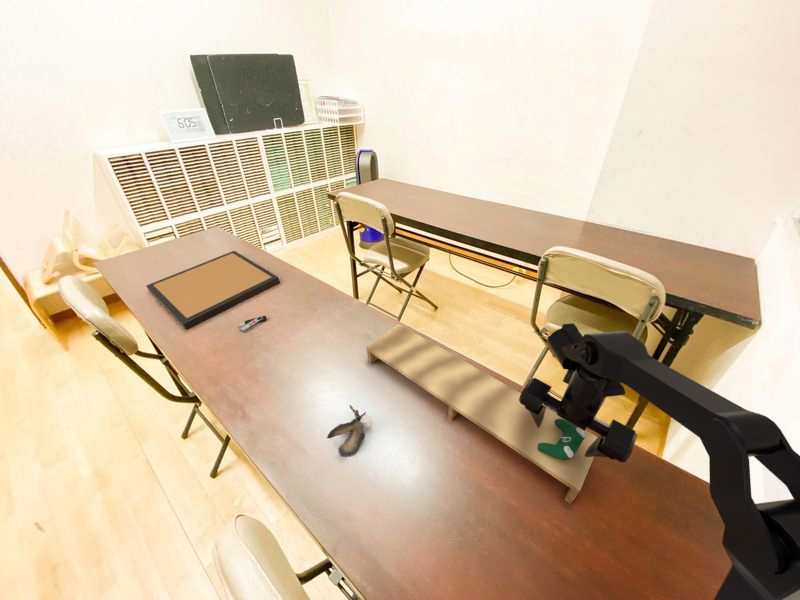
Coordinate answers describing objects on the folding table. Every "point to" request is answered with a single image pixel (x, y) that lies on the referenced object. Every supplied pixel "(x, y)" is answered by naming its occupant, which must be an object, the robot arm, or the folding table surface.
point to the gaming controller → (564, 441)
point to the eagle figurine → (352, 433)
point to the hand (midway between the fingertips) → (561, 439)
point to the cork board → (211, 288)
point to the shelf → (481, 402)
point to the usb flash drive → (251, 323)
